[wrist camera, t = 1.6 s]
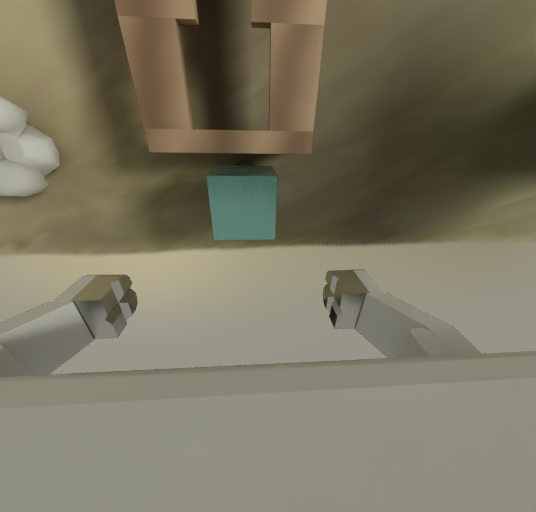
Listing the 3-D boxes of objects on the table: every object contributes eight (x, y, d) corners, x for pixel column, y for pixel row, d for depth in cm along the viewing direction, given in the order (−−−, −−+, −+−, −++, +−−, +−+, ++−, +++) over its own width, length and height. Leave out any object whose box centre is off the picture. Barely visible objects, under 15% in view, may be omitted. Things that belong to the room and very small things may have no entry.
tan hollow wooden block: (311, -65, 18) (345, -181, 12) (296, 147, 26) (311, 154, 20) (139, -76, 18) (66, -208, 11) (177, 146, 26) (149, 152, 19)
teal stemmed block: (268, 159, 27) (277, 176, 17) (267, 202, 30) (275, 239, 20) (224, 158, 27) (206, 175, 17) (227, 202, 29) (214, 240, 19)
